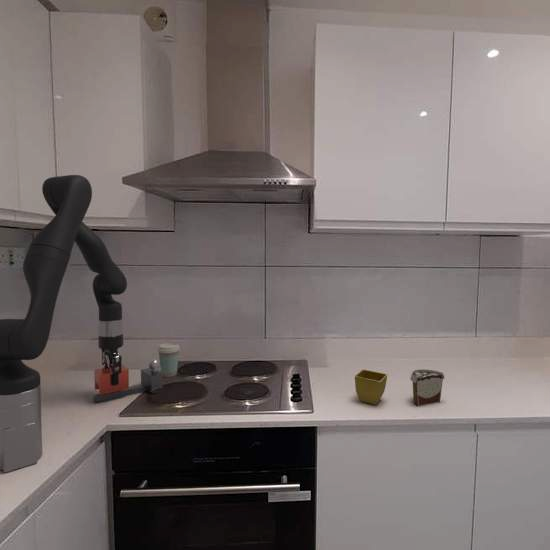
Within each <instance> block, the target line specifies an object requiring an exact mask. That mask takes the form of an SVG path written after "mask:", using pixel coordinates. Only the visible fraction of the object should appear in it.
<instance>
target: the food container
mask: <svg viewBox="0 0 550 550" xmlns="http://www.w3.org/2000/svg"><path fill="white" fill-rule="evenodd" d="M444 380H445V374H444V372H442V371H438V370H433V369H415V370H413V371H412V372H411V375H410V381H411V383H412V395H413V396H412V398H413V399H412V400H413V404H414V405H415V406H417V407H424V406H429V405H435V404H440V403H441V397H442V389H443V382H444Z"/></svg>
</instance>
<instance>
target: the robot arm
mask: <svg viewBox="0 0 550 550" xmlns="http://www.w3.org/2000/svg"><path fill="white" fill-rule="evenodd" d="M41 188H42V189H41V190H42V195H43V199H45V202H46V203H47V205H48V206H49V208H50V209H51V211H52V212H53V214H54V215H55V216H54V217H53V218H52V219H51V220H50V222H48V223H47V224H46V225H45V226H44V227H43V228H42V229H41V230H40V231H39V232H38V233H37V234H36V235H35V236H34V237H33V238H32V241H31V242H30V244H29V246H28V249H27V251H26V255H25V256H24V260H23V263H22V271H23V275H24V279H25V281H26V284H27V287H28V289H29V293H30V300H29V301H30V302H29V306H28V310H27V312H26V316H25V318H1V319H0V471H2V470H3V474H4V473H5V472H6V473H8V472H12V471H15V469H16V470H19V469H21V468H24V467H28V466H31V465H35V464H37V463H38V460H39V459H40V458H41V457H42V455H43V432H42V431H43V430H42V428H43V426H42V425H43V424H42V400H41V399H42V397H41V396H42V392H41V387H42V386H41V375H40V372H39V371H38V370H36V369H34V368H32V367H29V366H28V365H27V364H25V363H24V362H23V361H31V360H36V359H37V358H39V357H40V356H41V355H42V353H43V352H44V350H45V349H46V346H47V343H48V341H49V337H50V332H51V328H52V324H53V319H54V318H53V317H54V312H55V308H56V304H57V300H58V296H59V292H60V289H61V286H62V282H63V279H64V277H65V273H66V271H67V268H68V264H69V261H70V258H71V254H72V250H73V247H74V244H76V246H77V247H78V250H79V251H80V253H81V254H82V257H83V259H84V261H85V263H86V264H87V266H88V269H89V270H90V271H92V272H93V273H96V275H95V276H94V278H93V280H92V290H93V291H92V292H93V295H94V298H95V301H96V304H97V308H98V325H97V326H98V327H97V329H98V331H97V332H98V333H97V335H98V336H97V338H98V345H97V346H98V348H99V349H100V350H101V365H102V366H103V368H107V367H108V368H110V372H111V385H112V386H115V385H118V384H119V373H121V365H122V354H121V355H120V353H119V351H118V349H119V348H122V347H123V346H124V324H123V323H124V322H123V306H122V305H123V304H122V303H121V302H119V301H118V300H117V301H116V300H115V299H114V298H113V295H116V296H118V295H119V296H120V295H121V294H124V293H125V292H126V291H127V287H128V281H127V278H126V276H125V274H124V273H123V271H122V270H121V269H120V267H118V265H117V264H116V263H115V262H114V261H113V260H112V257H111V256H110V253H109V251H108V249H107V247H106V244H105V243H104V241H103V240H102V238H101V237H100V236H99V235H98V234H96V232H95V231H93V230H92V229H91V228H90V227H88V226H87V224H85V223H84V221H83V220H84V218H85V216H86V214H87V212H88V209H89V208H90V205H91V202H92V197H93V189H92V185H91V183H90V181H89V180H88V179H87V178H86V177H85V176H83V175H79V174H69V175H59V176H52V177H48V178H46V179H45V180H44V182H43V184H42V187H41ZM115 368H116V369H117V370H115ZM18 468H19V469H18Z"/></svg>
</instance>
